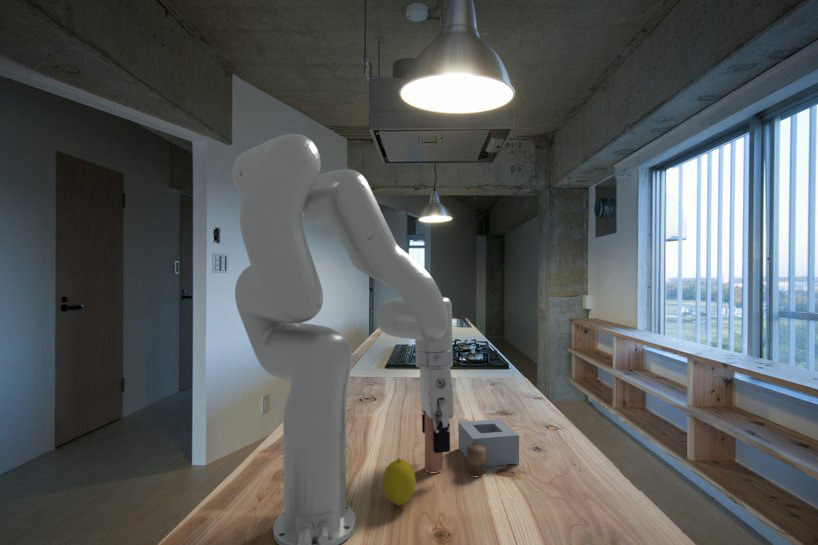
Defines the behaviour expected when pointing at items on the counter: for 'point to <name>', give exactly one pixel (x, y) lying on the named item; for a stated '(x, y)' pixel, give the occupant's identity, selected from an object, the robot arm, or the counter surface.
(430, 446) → the long pin
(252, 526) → the counter surface
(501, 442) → the hole block
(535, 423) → the counter surface
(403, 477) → the lemon
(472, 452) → the short pin
